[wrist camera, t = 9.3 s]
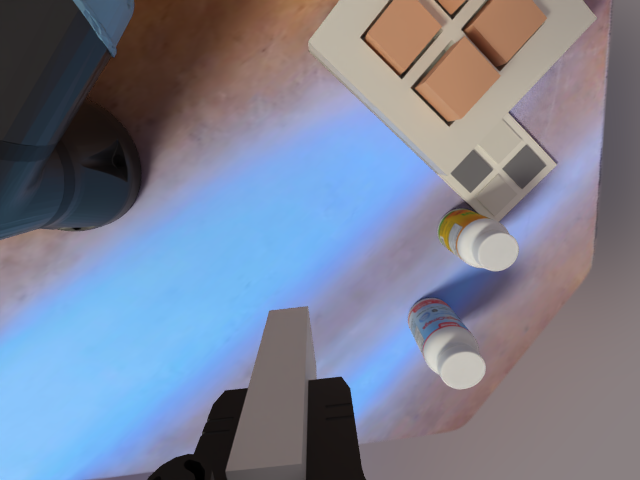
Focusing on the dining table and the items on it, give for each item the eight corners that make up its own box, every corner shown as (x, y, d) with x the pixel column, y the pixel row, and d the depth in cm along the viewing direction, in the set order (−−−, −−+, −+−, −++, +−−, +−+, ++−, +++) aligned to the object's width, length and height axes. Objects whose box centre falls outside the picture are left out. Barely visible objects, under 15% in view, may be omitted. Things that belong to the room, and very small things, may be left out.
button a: (457, 36, 34) (472, 24, 31) (493, -7, 33) (512, -23, 30) (489, 70, 35) (506, 62, 32) (525, 30, 34) (547, 18, 31)
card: (436, 173, 40) (438, 174, 39) (499, 106, 38) (502, 105, 37) (491, 226, 41) (494, 227, 41) (554, 164, 39) (558, 164, 39)
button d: (362, 43, 34) (367, 32, 31) (395, 2, 34) (404, -14, 30) (396, 77, 35) (404, 70, 32) (430, 38, 34) (442, 26, 31)
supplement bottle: (485, 212, 41) (535, 231, 32) (471, 253, 42) (515, 282, 33) (443, 203, 41) (481, 220, 31) (430, 245, 42) (463, 272, 33)
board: (308, 51, 36) (308, 41, 32) (442, -122, 32) (457, -155, 29) (436, 173, 40) (447, 176, 36) (569, 30, 36) (597, 18, 32)
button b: (414, 88, 34) (425, 81, 31) (450, 47, 33) (464, 36, 30) (447, 121, 35) (461, 118, 32) (483, 82, 34) (501, 75, 31)
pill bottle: (449, 293, 44) (493, 340, 33) (451, 333, 45) (494, 391, 35) (404, 299, 44) (432, 349, 33) (408, 339, 46) (436, 399, 35)
